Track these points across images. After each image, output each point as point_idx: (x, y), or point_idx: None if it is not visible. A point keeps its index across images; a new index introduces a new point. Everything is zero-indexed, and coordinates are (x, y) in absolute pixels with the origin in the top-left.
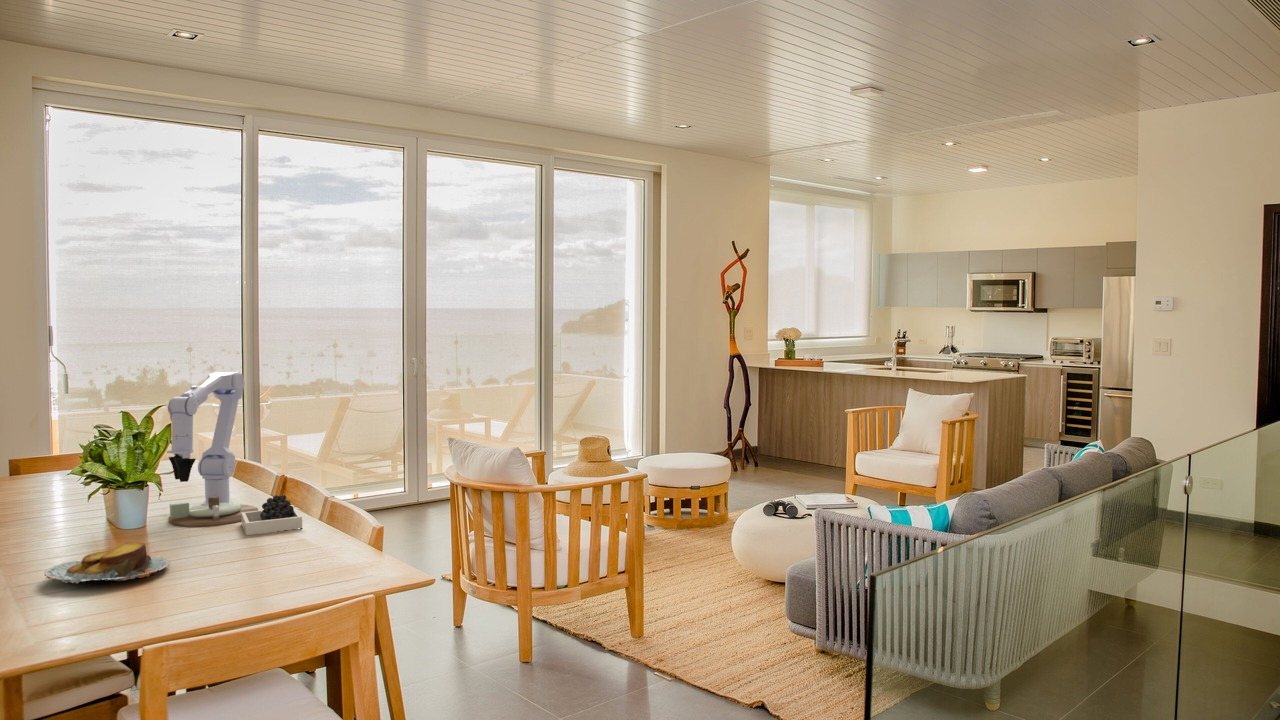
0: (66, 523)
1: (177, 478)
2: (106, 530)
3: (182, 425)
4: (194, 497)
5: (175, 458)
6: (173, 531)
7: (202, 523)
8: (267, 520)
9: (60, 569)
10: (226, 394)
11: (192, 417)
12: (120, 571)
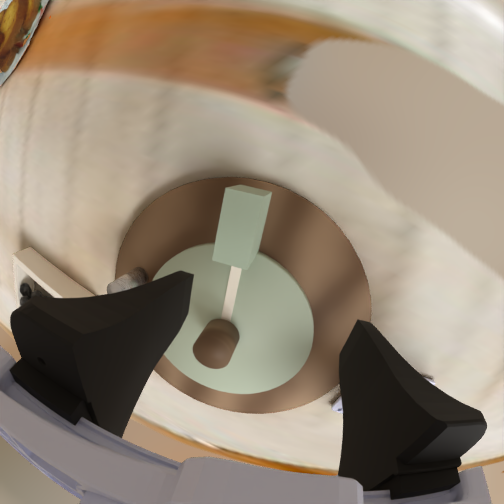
0: (493, 29)
1: (353, 331)
2: (325, 15)
3: None
4: (493, 382)
5: (62, 350)
6: (139, 144)
7: (129, 230)
8: (15, 289)
9: None
10: None
11: None
12: None
